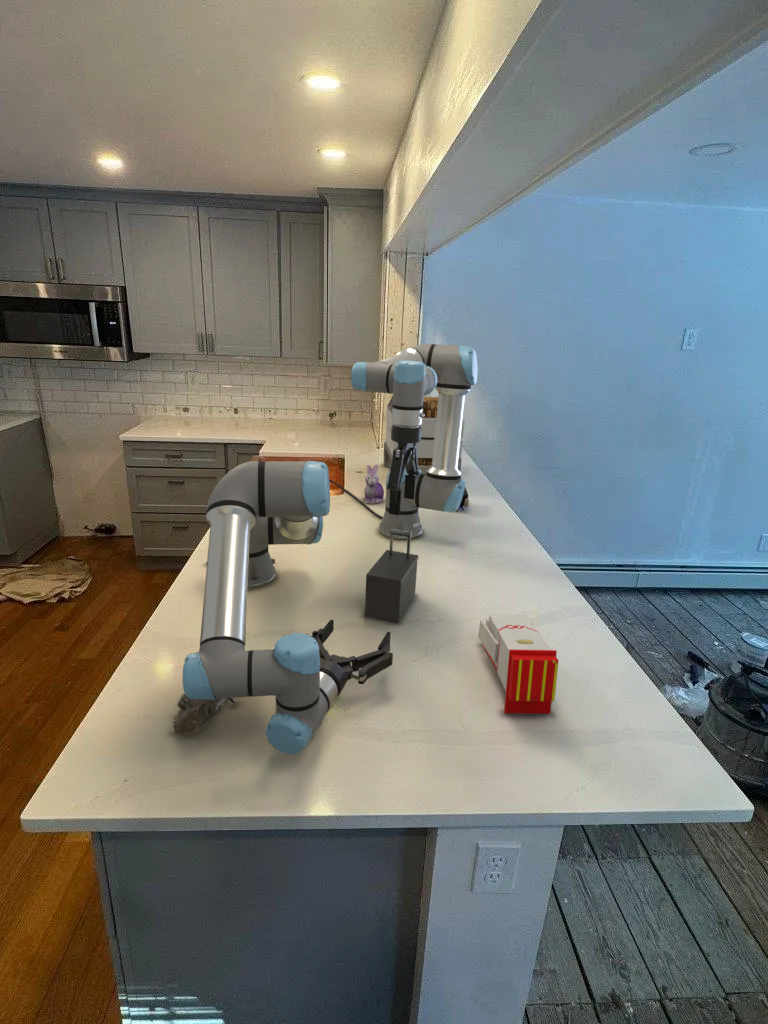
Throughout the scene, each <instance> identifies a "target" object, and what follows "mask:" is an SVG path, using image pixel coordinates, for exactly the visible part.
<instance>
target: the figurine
mask: <svg viewBox="0 0 768 1024" xmlns="http://www.w3.org/2000/svg"><path fill="white" fill-rule="evenodd" d="M378 469H379V465H378V464H375V465H374V466H373V468H371V465H369V464H368V465H366V475H365V479H364V480H365V484H366V485H365V487H364V492H363V493H364V497H363V501H364V504H370V505H374V504H379V503H381V502H383V501H384V497H385V496H384V495H385V490H384V487H383V484H381V483H380V482H379V481H380V478H379V475H378V473H377V472H378Z"/></svg>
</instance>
